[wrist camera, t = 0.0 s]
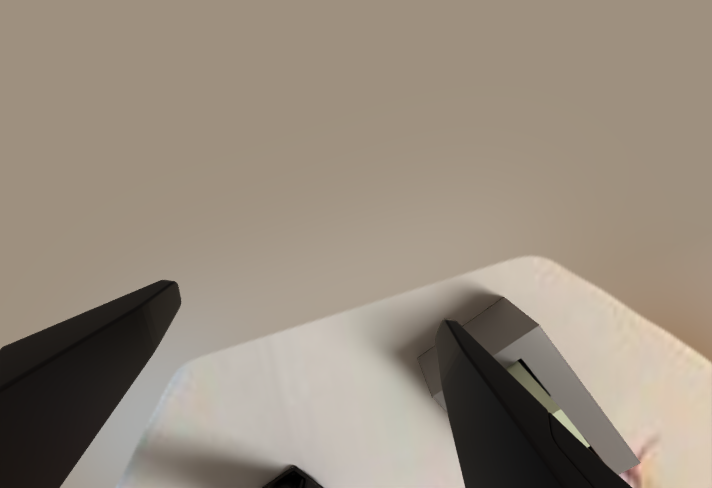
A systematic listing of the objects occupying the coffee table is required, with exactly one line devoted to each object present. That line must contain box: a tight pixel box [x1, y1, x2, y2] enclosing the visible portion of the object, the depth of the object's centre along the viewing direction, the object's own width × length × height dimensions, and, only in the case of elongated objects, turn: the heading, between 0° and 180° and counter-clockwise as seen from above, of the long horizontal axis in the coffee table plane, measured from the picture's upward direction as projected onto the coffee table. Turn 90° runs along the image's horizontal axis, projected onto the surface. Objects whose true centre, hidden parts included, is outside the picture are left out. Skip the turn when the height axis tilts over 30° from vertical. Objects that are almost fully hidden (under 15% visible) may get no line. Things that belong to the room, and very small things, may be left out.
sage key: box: [505, 361, 590, 447], centre depth 22 cm, size 5×5×6 cm
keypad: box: [418, 297, 640, 475], centre depth 27 cm, size 11×21×5 cm, turn 40°
